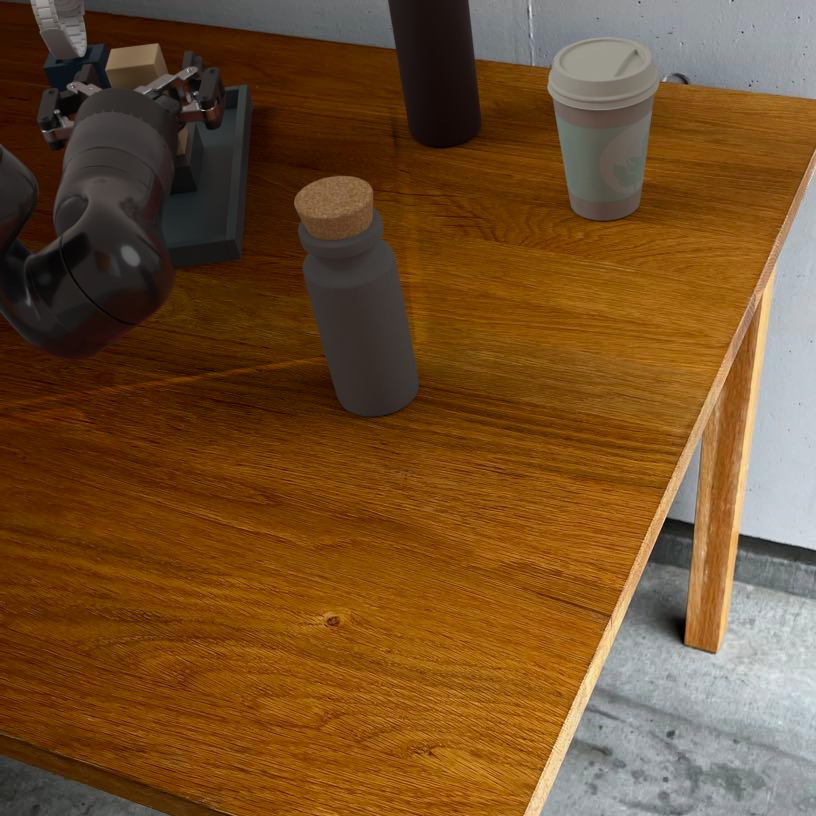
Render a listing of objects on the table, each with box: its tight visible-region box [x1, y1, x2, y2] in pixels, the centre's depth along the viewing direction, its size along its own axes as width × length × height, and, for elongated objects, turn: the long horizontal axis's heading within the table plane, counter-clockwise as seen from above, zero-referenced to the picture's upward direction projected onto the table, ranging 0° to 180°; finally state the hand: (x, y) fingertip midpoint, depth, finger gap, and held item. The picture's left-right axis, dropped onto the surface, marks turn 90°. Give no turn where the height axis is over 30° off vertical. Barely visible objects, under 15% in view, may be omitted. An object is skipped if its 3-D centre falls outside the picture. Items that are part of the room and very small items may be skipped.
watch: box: [30, 0, 112, 93], centre depth 105 cm, size 6×8×11 cm
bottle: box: [293, 175, 420, 418], centre depth 68 cm, size 6×6×15 cm
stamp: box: [105, 43, 203, 194], centre depth 91 cm, size 5×8×10 cm, turn 8°
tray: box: [161, 84, 255, 269], centre depth 93 cm, size 14×28×2 cm, turn 8°
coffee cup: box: [547, 36, 660, 222], centre depth 83 cm, size 8×8×12 cm
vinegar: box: [387, 0, 482, 148], centre depth 90 cm, size 7×7×20 cm
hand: (142, 68), depth 90 cm, fingers open, 8 cm apart
